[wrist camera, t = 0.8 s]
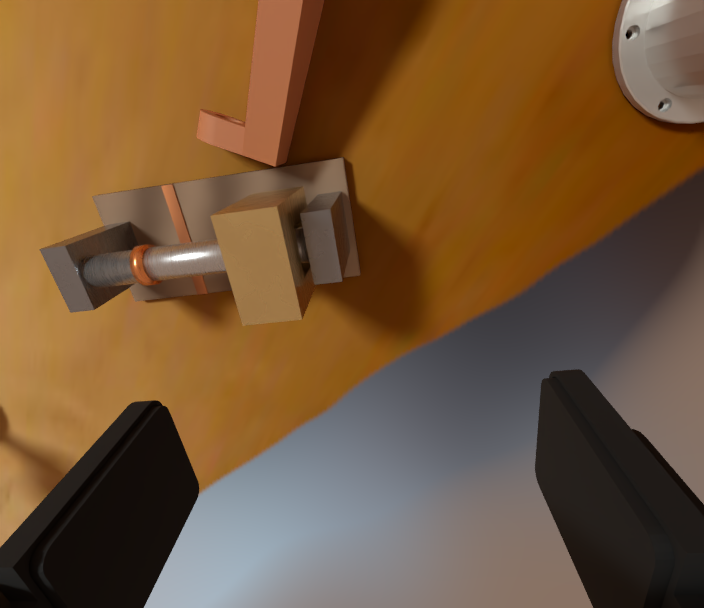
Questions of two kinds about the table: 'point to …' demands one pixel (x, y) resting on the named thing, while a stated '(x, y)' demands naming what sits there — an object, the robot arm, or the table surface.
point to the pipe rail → (182, 256)
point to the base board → (207, 199)
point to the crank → (270, 83)
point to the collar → (265, 255)
